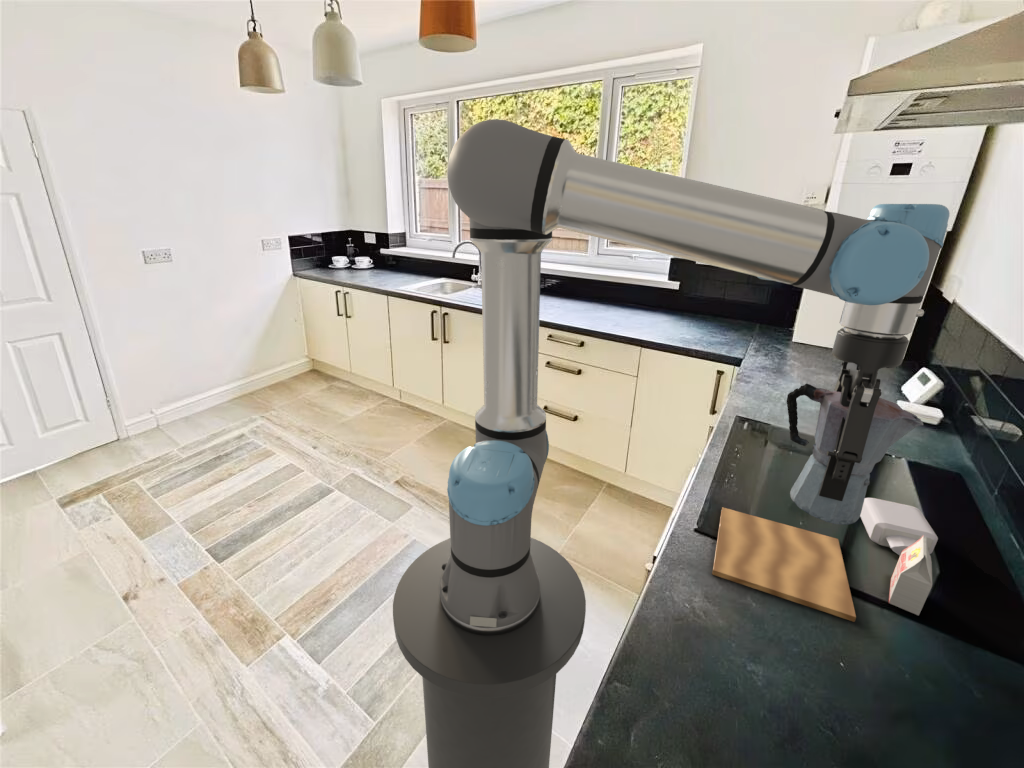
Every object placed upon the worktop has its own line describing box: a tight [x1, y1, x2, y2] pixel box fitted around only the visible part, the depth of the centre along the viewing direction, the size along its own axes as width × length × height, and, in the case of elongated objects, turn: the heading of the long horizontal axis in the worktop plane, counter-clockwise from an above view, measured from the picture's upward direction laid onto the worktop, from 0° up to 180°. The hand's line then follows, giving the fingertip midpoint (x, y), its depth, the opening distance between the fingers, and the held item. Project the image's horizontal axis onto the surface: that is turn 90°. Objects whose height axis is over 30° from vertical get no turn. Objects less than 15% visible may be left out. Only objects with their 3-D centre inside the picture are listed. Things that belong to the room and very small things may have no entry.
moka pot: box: [786, 383, 924, 526], centre depth 65 cm, size 10×15×20 cm, turn 52°
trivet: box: [711, 506, 857, 623], centre depth 81 cm, size 20×20×1 cm
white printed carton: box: [888, 535, 933, 617], centre depth 72 cm, size 4×7×10 cm, turn 140°
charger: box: [860, 497, 939, 559], centre depth 84 cm, size 5×9×15 cm
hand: (827, 482), depth 67 cm, fingers closed on moka pot, 8 cm apart
